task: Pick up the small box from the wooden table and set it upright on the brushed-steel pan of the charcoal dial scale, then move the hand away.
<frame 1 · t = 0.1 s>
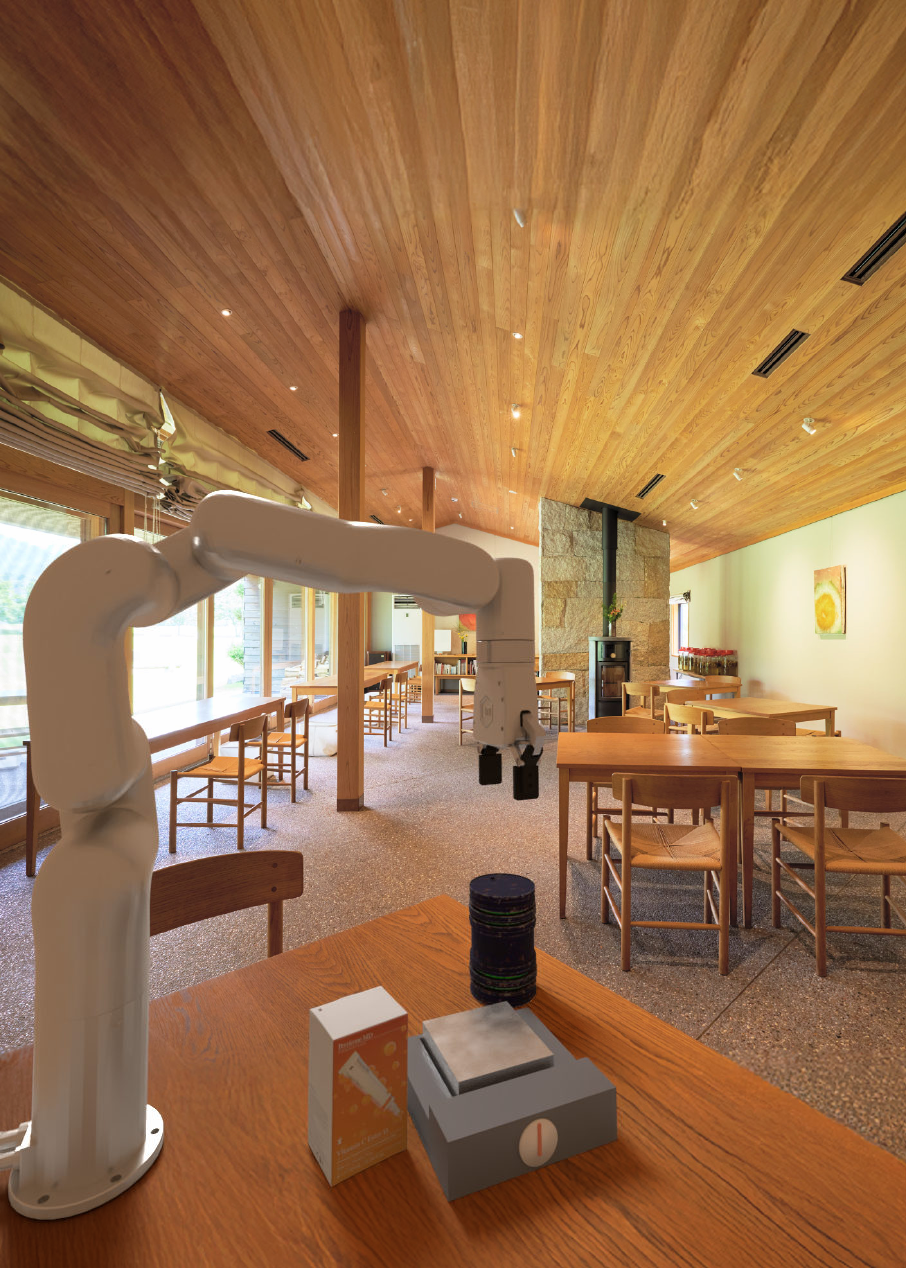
hand: (507, 791, 75), 31 cm above the table, tool pointing down, fingers open, 9 cm apart
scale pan: (485, 1051, 66), point 4 cm above the table, slide at -0.3 cm
small box: (357, 1149, 58), on the table
navy cylindrical canister: (503, 990, 87), on the table
scale: (495, 1103, 64), on the table
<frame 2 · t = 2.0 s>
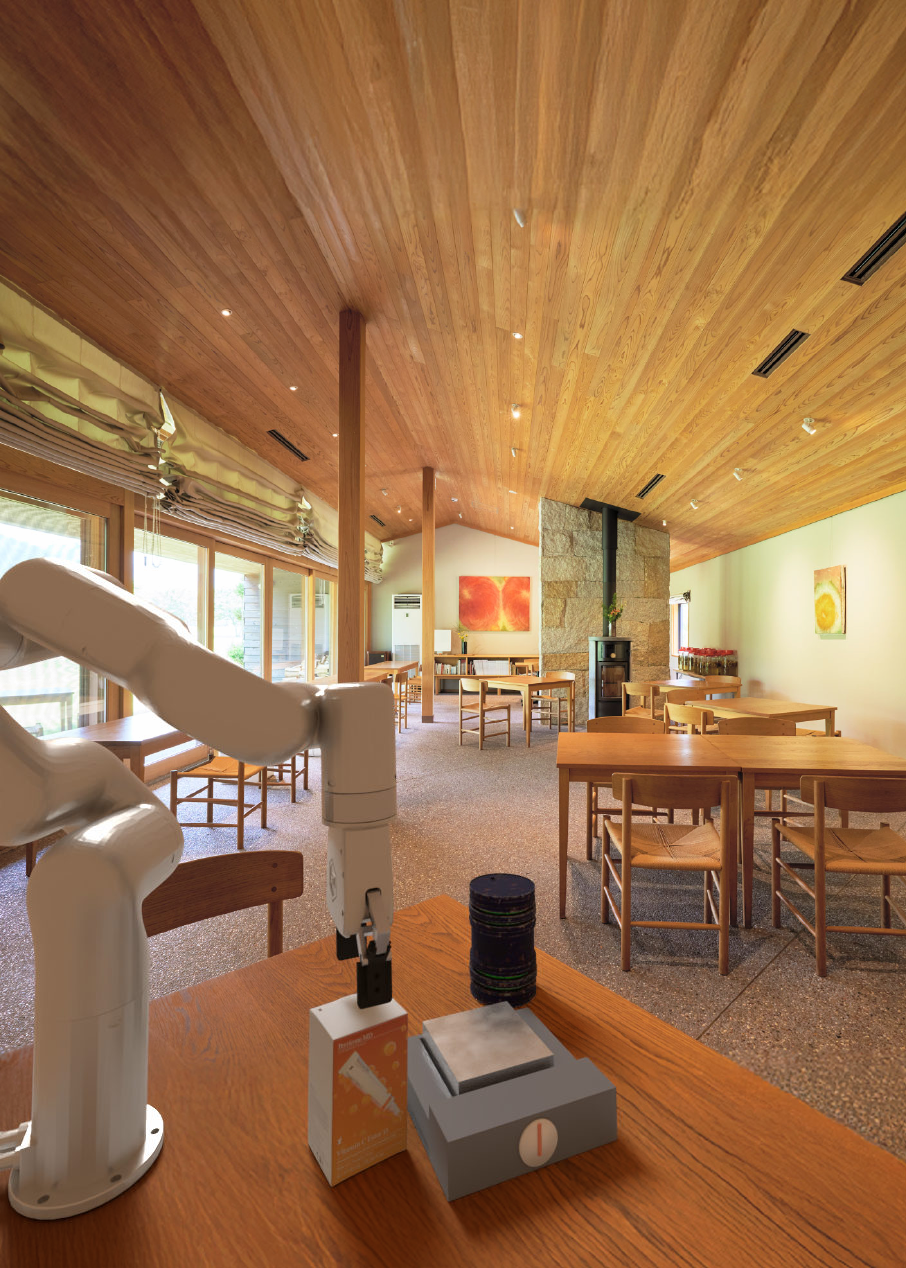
hand: (362, 978, 59), 16 cm above the table, tool pointing down, fingers open, 9 cm apart
nothing on the table moved.
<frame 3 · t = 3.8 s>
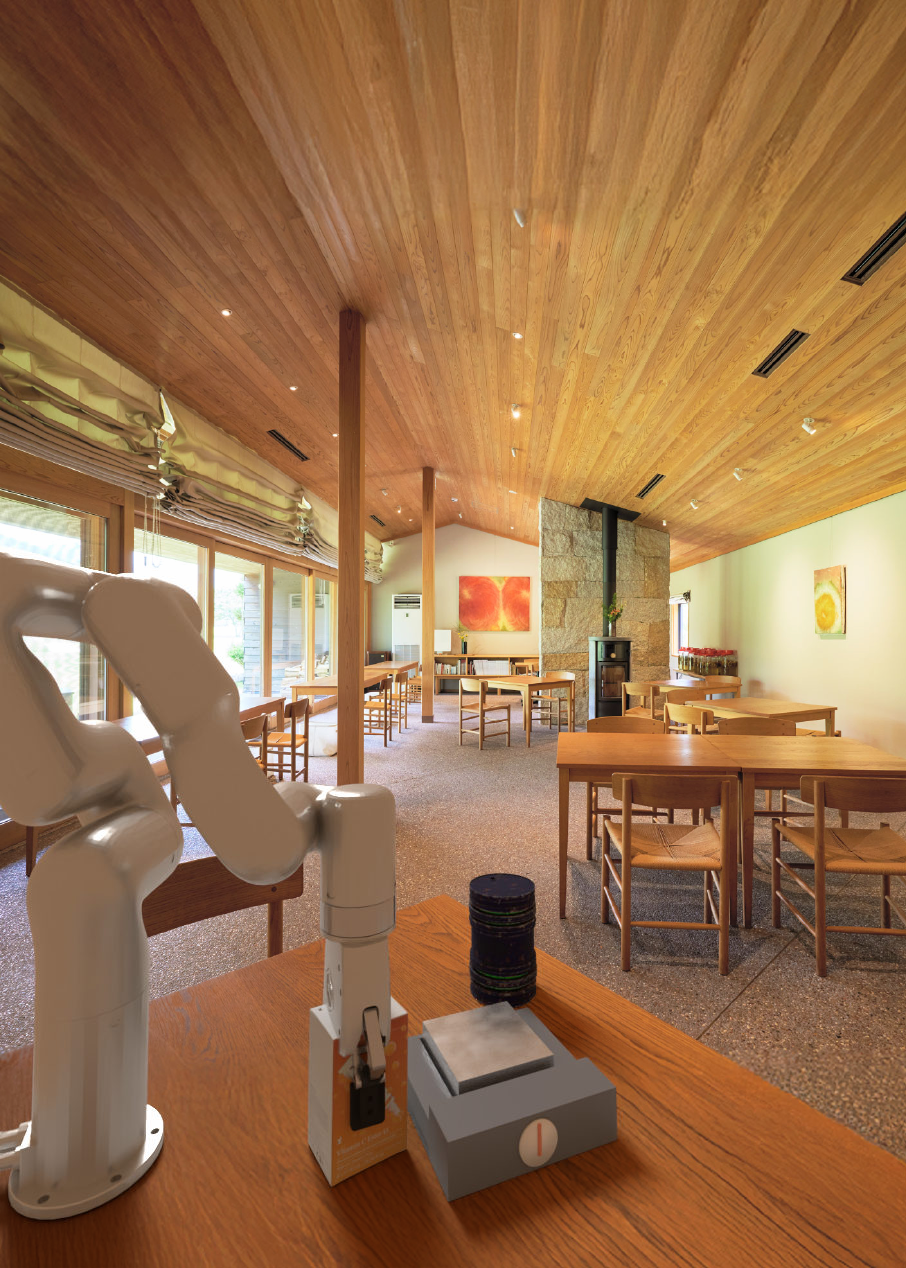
hand: (358, 1095, 59), 5 cm above the table, tool pointing down, fingers closed on small box, 7 cm apart
small box: (357, 1149, 58), on the table, touching gripper
everything else where it was.
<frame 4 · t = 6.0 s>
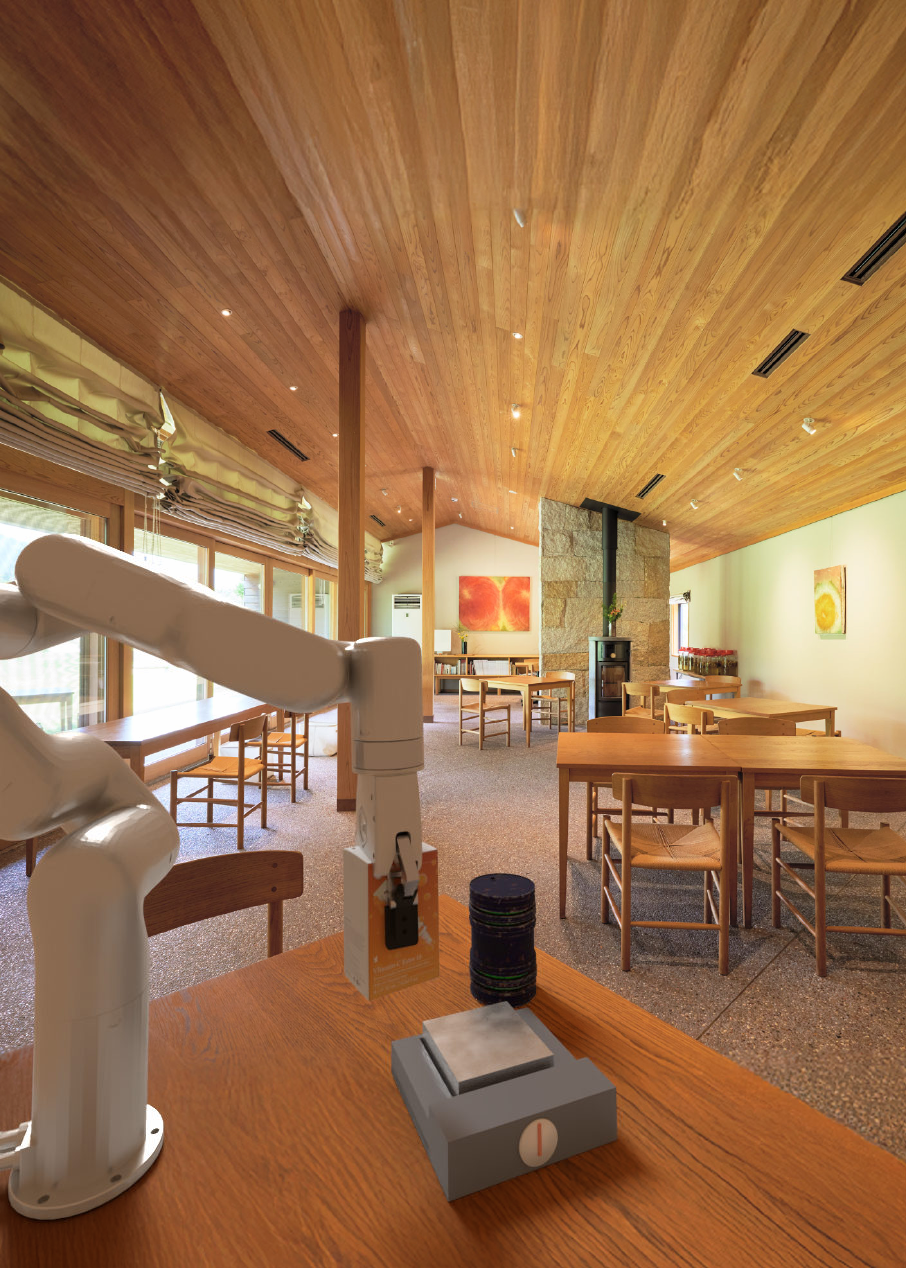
hand: (391, 928, 61), 20 cm above the table, tool pointing down, fingers closed on small box, 7 cm apart
small box: (392, 979, 61), point 15 cm above the table, touching gripper
everything else where it was.
when the fingers open (12 cm above the table, at t = 8.7 s): small box drops 3 cm, resting on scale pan.
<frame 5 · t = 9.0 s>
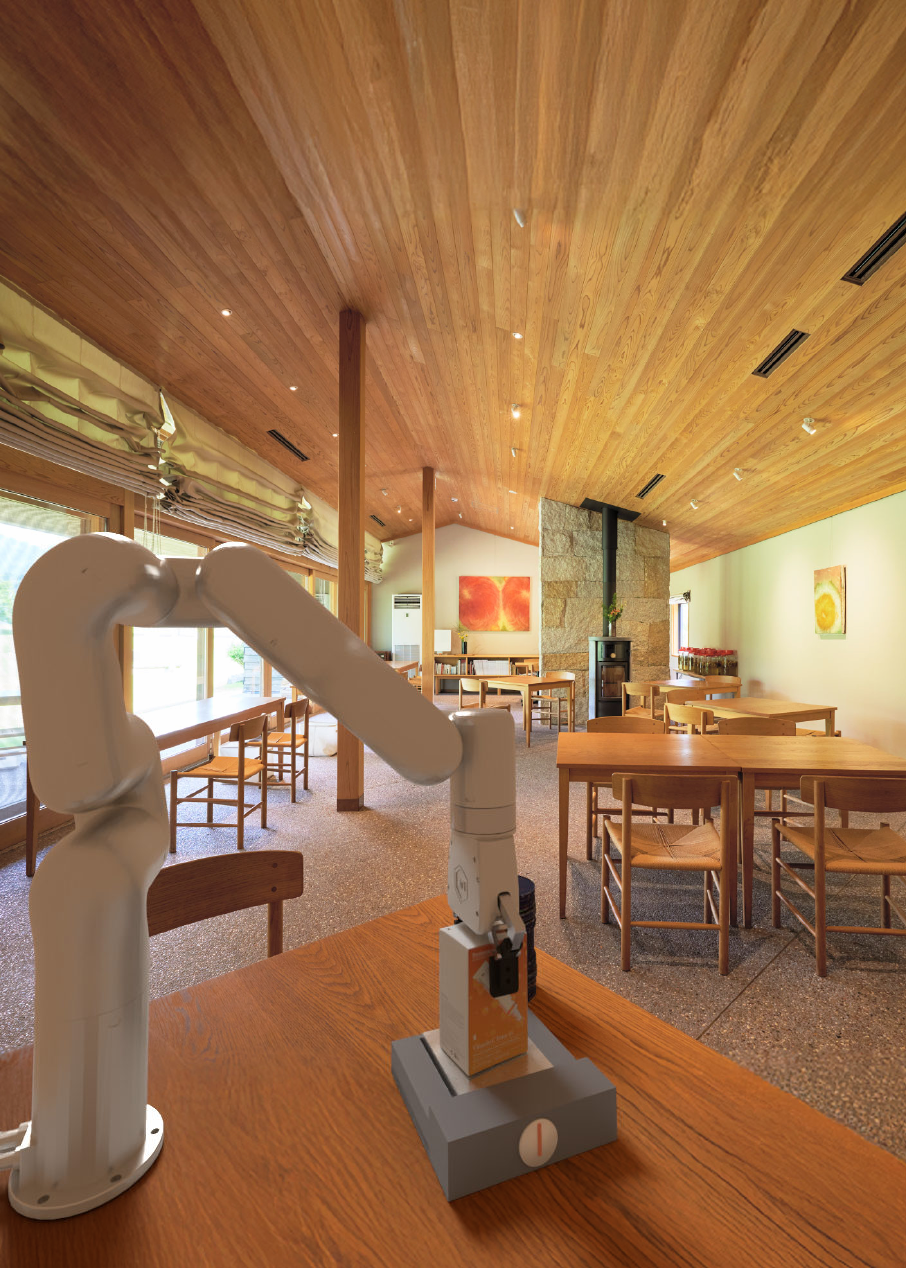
hand: (484, 971, 67), 13 cm above the table, tool pointing down, fingers open, 9 cm apart
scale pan: (485, 1062, 66), point 3 cm above the table, slide at -1.6 cm, touching small box
small box: (483, 1051, 66), point 4 cm above the table, touching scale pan
everything else where it was.
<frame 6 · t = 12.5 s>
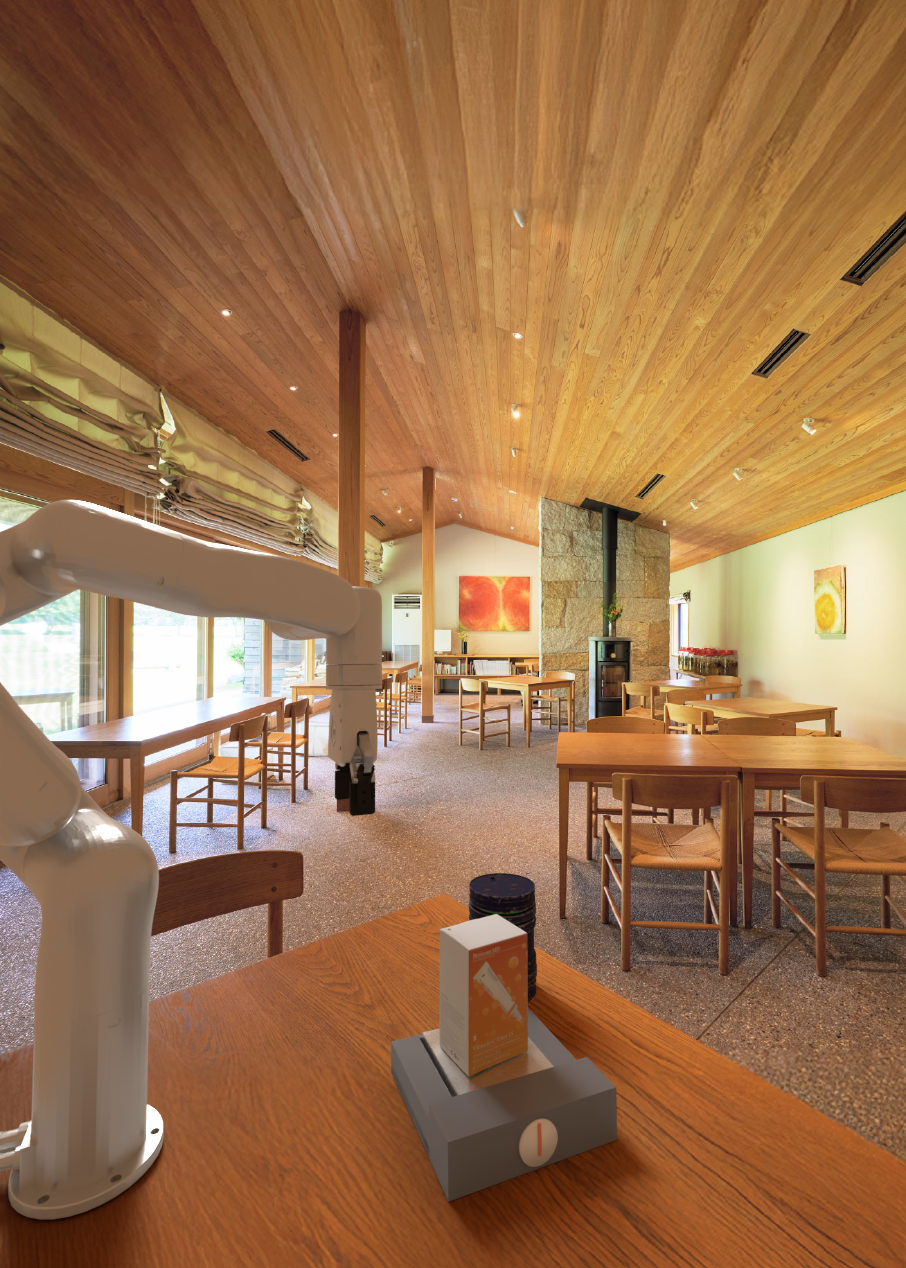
hand: (353, 806, 80), 28 cm above the table, tool pointing down, fingers open, 9 cm apart
nothing on the table moved.
at the end: small box inside the target area (0.2 cm from its centre), point 4.1 cm above the table; small box tilted 0°; small box touching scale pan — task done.
